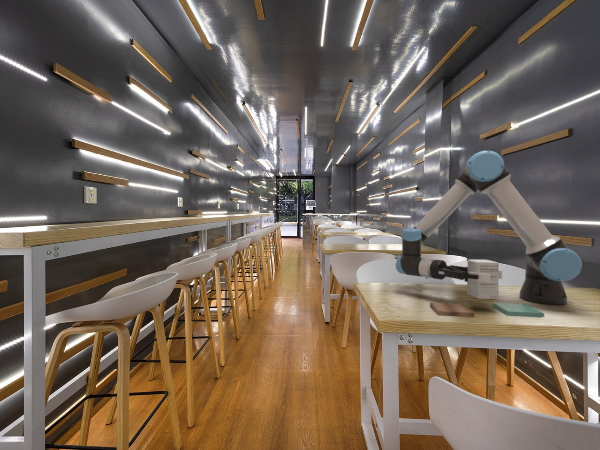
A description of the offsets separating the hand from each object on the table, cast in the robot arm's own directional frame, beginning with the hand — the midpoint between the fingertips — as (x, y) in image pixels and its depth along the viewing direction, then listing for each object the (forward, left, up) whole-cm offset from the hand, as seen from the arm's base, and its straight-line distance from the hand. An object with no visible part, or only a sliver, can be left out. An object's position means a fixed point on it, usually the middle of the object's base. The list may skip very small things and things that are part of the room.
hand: (496, 276), depth 110 cm
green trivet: (-8, -2, -13) cm, 15 cm away
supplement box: (+3, -3, -8) cm, 9 cm away
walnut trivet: (+15, +1, -13) cm, 20 cm away
